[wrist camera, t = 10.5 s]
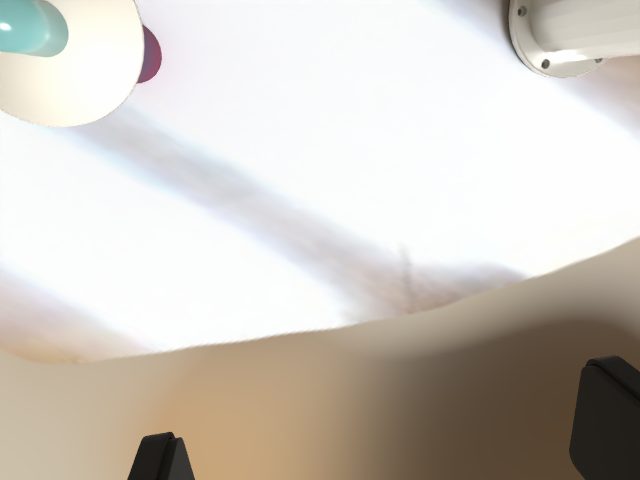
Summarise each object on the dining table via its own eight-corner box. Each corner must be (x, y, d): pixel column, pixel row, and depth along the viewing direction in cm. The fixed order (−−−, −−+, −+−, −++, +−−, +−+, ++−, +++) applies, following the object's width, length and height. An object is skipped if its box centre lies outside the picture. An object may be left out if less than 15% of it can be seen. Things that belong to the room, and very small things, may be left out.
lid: (116, -90, 21) (63, -152, 15) (163, 115, 24) (133, 123, 19) (-94, -74, 20) (-228, -134, 15) (-14, 135, 24) (-97, 149, 18)
